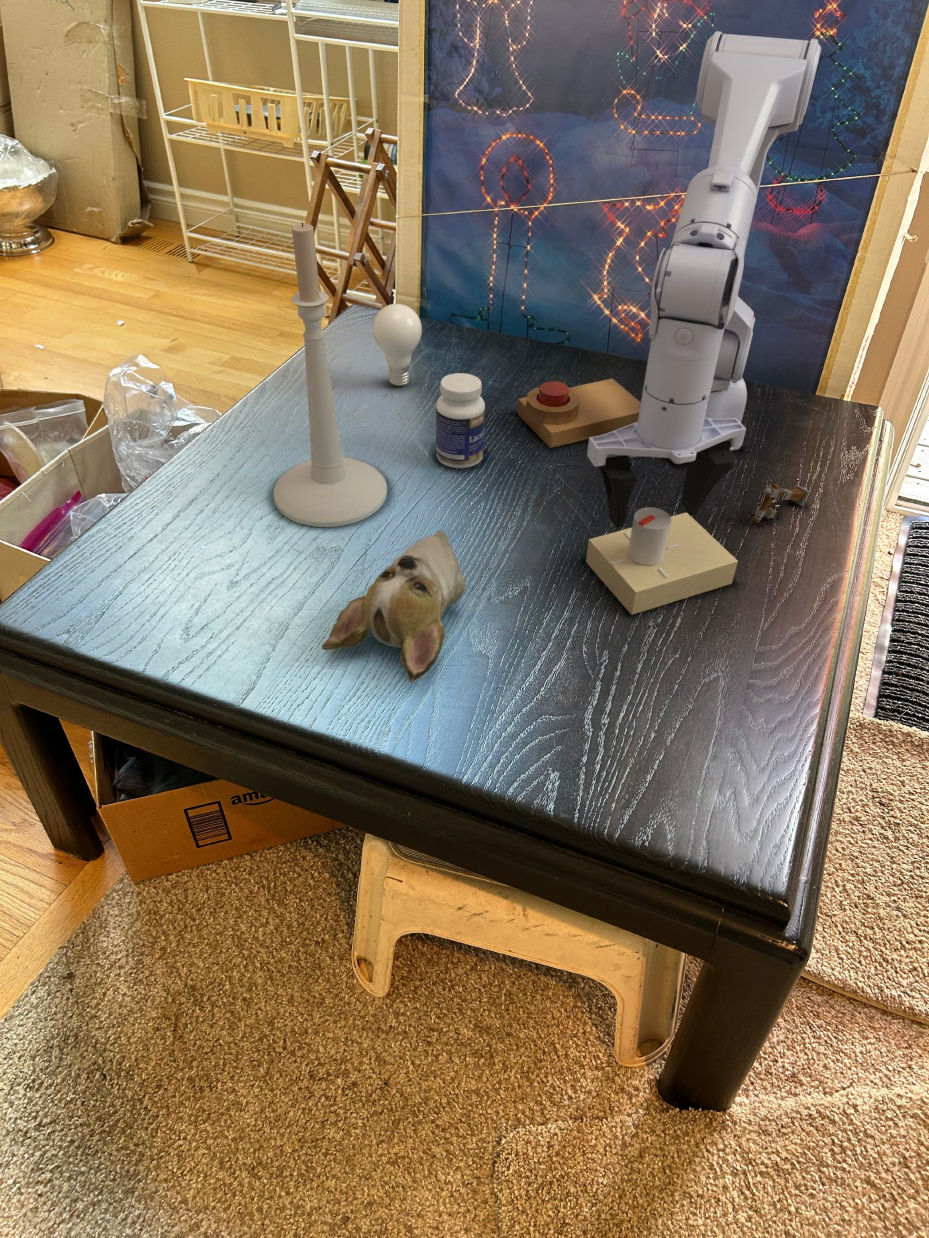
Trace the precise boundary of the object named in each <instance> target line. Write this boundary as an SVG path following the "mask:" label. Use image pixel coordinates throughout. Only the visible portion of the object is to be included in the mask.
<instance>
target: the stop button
mask: <svg viewBox="0 0 929 1238" xmlns="http://www.w3.org/2000/svg"><path fill="white" fill-rule="evenodd" d="M539 387H540V388H539V403H540V404H542V405H545V406H549V407H560V406H565V405H566V404H567V402H568V392H569V388H570V387H569V386H568V385H567V384H566V383H563V382H561V381H552V380H551V381H545V382H543V383H541V384H540V385H539Z"/></svg>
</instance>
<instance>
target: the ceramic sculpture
mask: <svg viewBox="0 0 929 1238" xmlns="http://www.w3.org/2000/svg"><path fill="white" fill-rule="evenodd" d="M465 589H466V580H465V578H464V576H463V574H462V570H461V567H460V564H459V562H458V559H457V558H456V555H455V552H454V549H453V547H452V545H451V543H450V541H449V540H448V537H447V534H446V532H445V531H444V530H442V529H440V530H438V531H436V532H435V533H434V534H431V535H429V536H426V537H424V538H422V539H419V540H417V541H416V542H415V543H414V544H412V545H411V546H409V547H408V548H407V549H406V550H405V551H403V553H402V554H401V555H400V556H398V557H397V558H395V559H394V560H393V562H392V563H391V564H390V566H388V567H386V568H385V569H384V570H383V571H382V572H380V573H379V575H378V576H377V578H375V580H374V582H373V583H372V584H371V585H369V587H368V589H367V591H366V593H365V595H363V596H359V597H357V598H355V599H353V600H350V601H349V602H348V604H347V605H346V607H345V608H344V609H342V610H341V611H340V612H339V614H338V616H337V618H336V622H335V623H334V624H333V626H332V629H331V631H330V633H329V636H328V637H327V639H326V640H324V642H323V644H322V645H321V649H322V650H325V651H329V650H331V651H332V650H339V649H346V648H350V647H357V646H359V645H360V644H362V643H363V642H364V640H365V639H366V637H367V635H368V633H370V630H371V632H372V634H373V636H374V637H375V639H376V640H377V641H379V642H380V643H382V644H384V645H386V646H389V647H393V648H399V649H400V648H401V649H400V659H399V660H400V663H401V665H402V667H403V668H404V670H405V672H406V674H407V677H408V681H409V682H410V683H414V682H415V681H417V680H418V679H420V678H421V677H423V676H424V675H426V674H427V673H428V672H429V671H430V669H431V668H432V667H433V666H434V665H435V663H436V661H437V660H438V657H439V655H440V652H441V650H442V648H443V643H444V640H445V639H446V638H445V637H446V635H445V627H444V624H443V623H442V620H441V618H442V616H443V615H444V613H445V612H446V608H448V607H451V606H453V605H455V604H456V603H457V602H459V600H460V599H462V597H463V595H464V593H465Z"/></svg>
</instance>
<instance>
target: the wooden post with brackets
mask: <svg viewBox="0 0 929 1238" xmlns="http://www.w3.org/2000/svg"><path fill="white" fill-rule="evenodd" d="M810 493H811V491H810V490H808V489H806V488H805V487H802V486H801V485H799V484H796V485H795V486H794V488H793V489H787V488H783V487H780V486H779V484H777V483H773V484H771V486H770V485H767V486H766V488H765V490H764V492H763V494H764V495H765V497H764V499H763V500H762V502H761V504H760V506H759V507H758V508H757V509H756V511H755V513H754V516H753V518H752V521H753V522H754V523H757V524H759V523H760V522H761V520H762V518H765V519H767V520H770V518H771V519H774V518H775V517H776V515H777V513H778V511H777V510H776V509H774V508H772V507H769V506H770V505H771V504H772V503H773V502H774V501H775V500H776V499H780V500H784V501H785V500H786V501H793V502H794V503H795V504H797V505H799V506H801V507H803V506H804V505H805V503H806V501H807V499H808V497H809V496H810V495H811V494H810Z"/></svg>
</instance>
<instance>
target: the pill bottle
mask: <svg viewBox="0 0 929 1238" xmlns="http://www.w3.org/2000/svg"><path fill="white" fill-rule="evenodd" d="M439 386H440V388H439V392H440V394H441V395H440V396H439V397H438V399H437V400H436V406H435V456H436V458H437V461H439V462H440V463H441V464H442V465H444V466H445V467H449V468H452V469H468V468H472V467H474V466H477V465H478V464H479V463H480V462H481V461H482V460H483V458H484V451H485V450H484V449H485V448H484V447H485V446H484V445H485V420H486V419H485V418H486V403H485V401H484V398H482V396H481V394H482V390H483V389H482V387H483V385H482V381H481V379H480V378H479V377H478V376H475V375H473V374H470V373H466V372H465V373H463V372H458V373H457V372H455V373H449V374H447V375H445V376H443V377H442V379H440V385H439Z"/></svg>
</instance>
